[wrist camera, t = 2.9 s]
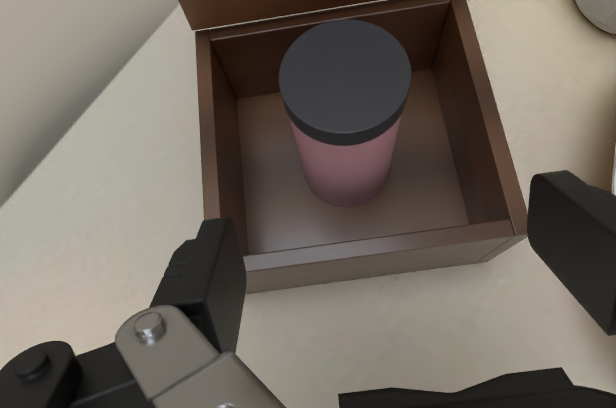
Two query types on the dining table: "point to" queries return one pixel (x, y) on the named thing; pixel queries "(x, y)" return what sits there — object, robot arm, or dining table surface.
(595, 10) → the mug
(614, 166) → the bowl
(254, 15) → the lid
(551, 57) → the dining table surface
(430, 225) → the chest
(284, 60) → the tube
